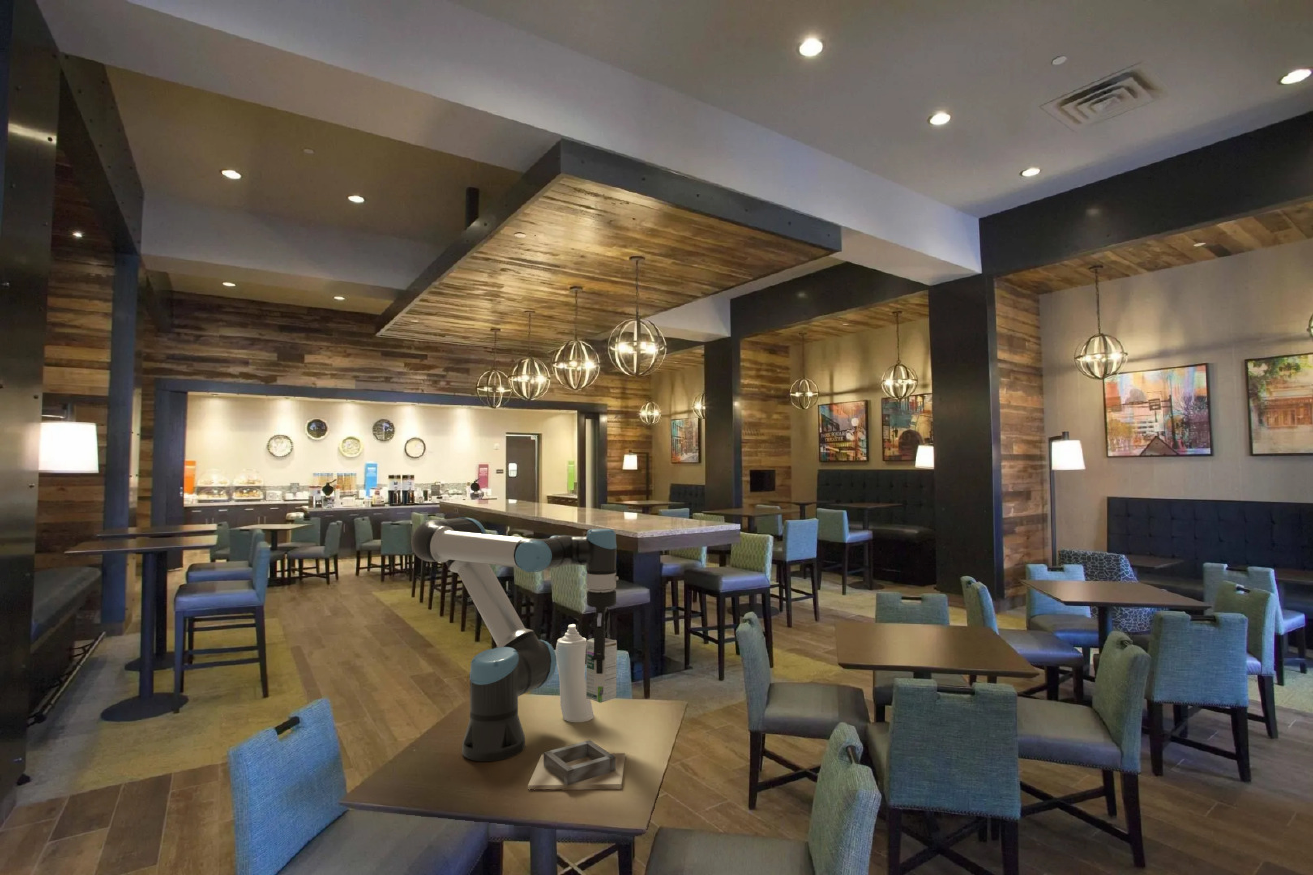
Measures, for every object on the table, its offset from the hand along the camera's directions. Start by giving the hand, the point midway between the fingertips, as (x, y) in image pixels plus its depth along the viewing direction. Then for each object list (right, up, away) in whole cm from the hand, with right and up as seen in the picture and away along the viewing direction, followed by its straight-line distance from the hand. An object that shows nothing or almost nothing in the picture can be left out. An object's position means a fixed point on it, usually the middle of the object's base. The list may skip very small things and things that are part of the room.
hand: (601, 680), depth 161 cm
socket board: (-4, -14, -17) cm, 23 cm away
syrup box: (0, -4, 0) cm, 5 cm away
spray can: (-9, -18, +20) cm, 28 cm away
